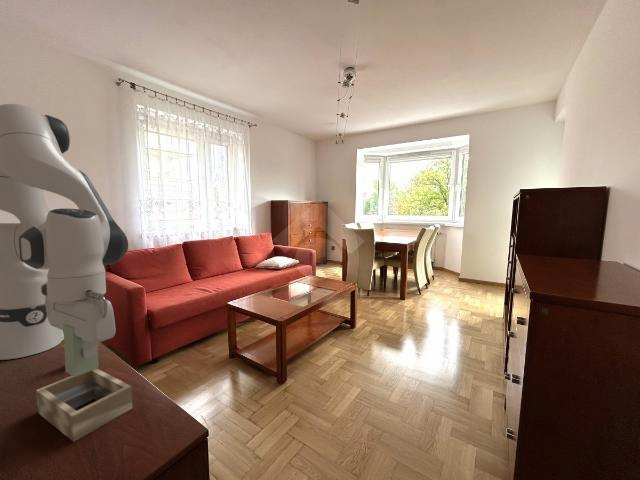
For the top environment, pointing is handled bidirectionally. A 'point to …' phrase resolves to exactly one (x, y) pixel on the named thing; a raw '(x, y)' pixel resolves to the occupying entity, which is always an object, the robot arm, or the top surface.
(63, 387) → the box
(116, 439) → the top surface
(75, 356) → the peg
